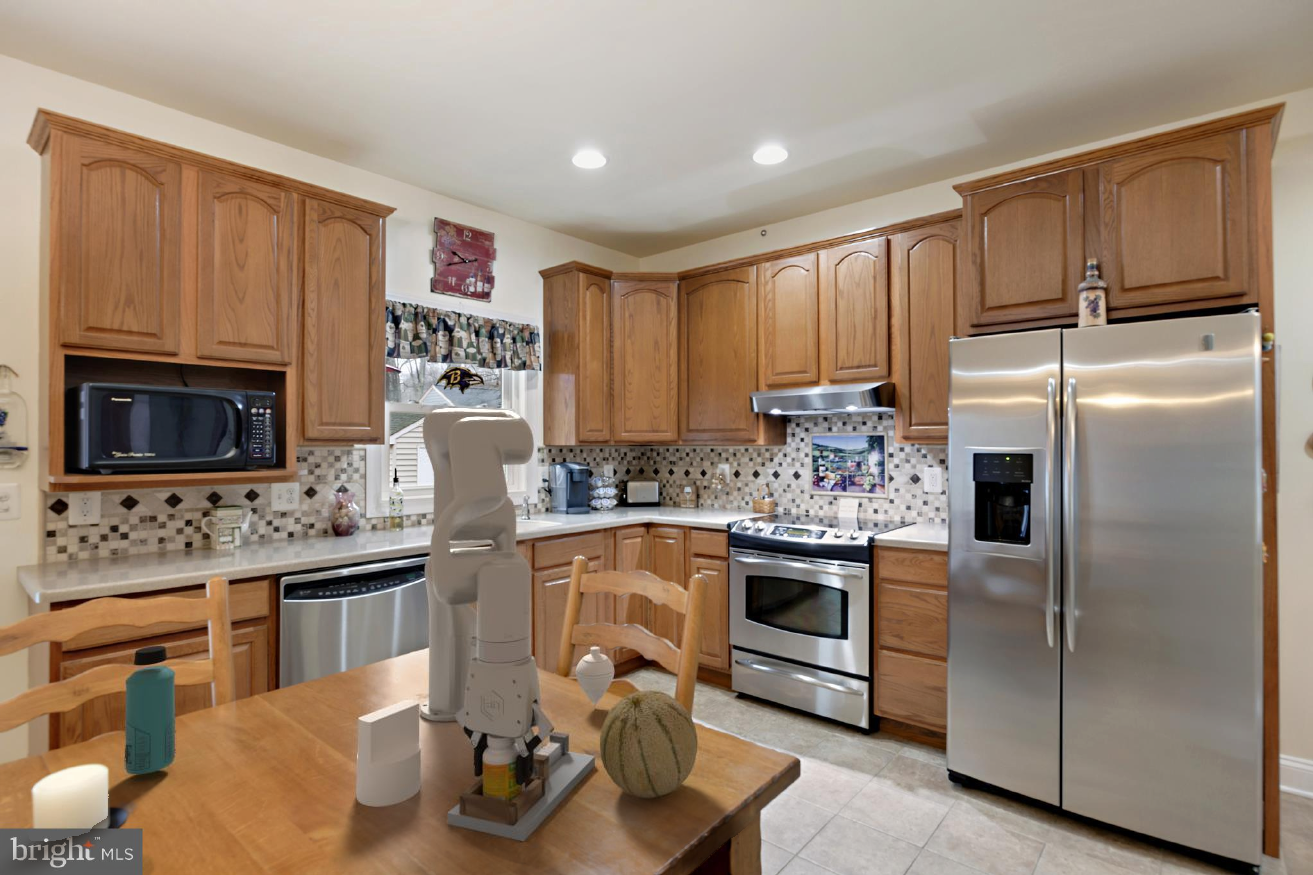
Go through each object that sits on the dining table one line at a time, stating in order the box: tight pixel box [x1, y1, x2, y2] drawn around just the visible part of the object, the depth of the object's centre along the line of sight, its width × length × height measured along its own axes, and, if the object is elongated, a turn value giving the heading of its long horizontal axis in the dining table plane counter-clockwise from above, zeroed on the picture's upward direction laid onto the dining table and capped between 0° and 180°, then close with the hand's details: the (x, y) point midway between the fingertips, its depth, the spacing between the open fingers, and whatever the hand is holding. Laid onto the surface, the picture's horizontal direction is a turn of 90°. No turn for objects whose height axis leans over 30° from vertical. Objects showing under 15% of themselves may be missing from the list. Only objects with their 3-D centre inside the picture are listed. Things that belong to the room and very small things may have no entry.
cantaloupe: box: [599, 689, 699, 799], centre depth 99 cm, size 15×15×15 cm
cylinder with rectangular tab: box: [355, 699, 422, 808], centre depth 99 cm, size 9×9×12 cm
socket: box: [458, 775, 545, 826], centre depth 92 cm, size 8×8×2 cm
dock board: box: [446, 745, 596, 842], centre depth 98 cm, size 22×12×5 cm, turn 160°
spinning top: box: [575, 646, 615, 709], centre depth 130 cm, size 8×8×12 cm
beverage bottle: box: [123, 645, 177, 775], centre depth 104 cm, size 6×7×20 cm
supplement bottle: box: [482, 734, 522, 802], centre depth 93 cm, size 5×5×10 cm
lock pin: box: [532, 731, 570, 776], centre depth 104 cm, size 10×3×3 cm, turn 160°
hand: (503, 775), depth 92 cm, fingers open, 6 cm apart
